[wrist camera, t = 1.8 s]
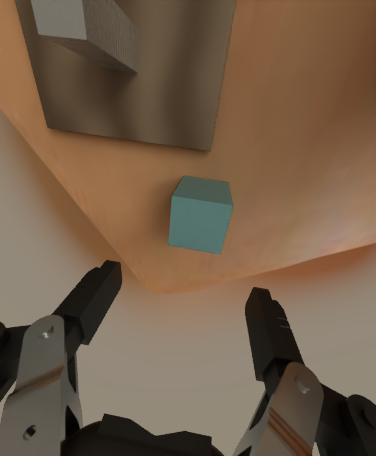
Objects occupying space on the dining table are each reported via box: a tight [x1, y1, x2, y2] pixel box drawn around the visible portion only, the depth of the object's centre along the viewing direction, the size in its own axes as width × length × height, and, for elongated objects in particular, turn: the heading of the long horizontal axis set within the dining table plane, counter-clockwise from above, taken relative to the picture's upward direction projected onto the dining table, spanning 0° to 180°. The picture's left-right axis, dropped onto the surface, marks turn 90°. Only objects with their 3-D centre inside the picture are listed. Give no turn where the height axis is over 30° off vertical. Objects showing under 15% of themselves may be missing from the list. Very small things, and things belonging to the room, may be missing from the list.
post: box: [31, 0, 138, 73], centre depth 12 cm, size 3×3×8 cm
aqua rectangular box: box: [168, 176, 233, 254], centre depth 20 cm, size 5×5×7 cm
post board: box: [15, 0, 236, 151], centre depth 16 cm, size 18×14×2 cm
